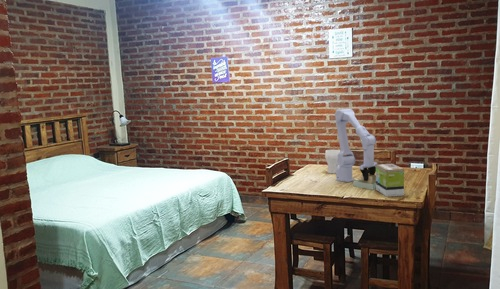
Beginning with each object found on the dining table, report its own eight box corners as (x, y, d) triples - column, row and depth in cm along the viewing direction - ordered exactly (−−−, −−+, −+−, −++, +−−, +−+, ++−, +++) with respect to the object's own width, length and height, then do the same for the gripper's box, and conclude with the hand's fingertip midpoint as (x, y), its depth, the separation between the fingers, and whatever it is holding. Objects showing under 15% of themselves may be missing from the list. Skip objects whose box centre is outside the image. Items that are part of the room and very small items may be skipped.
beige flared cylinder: (343, 171, 293) (343, 149, 291) (337, 174, 285) (337, 152, 283) (328, 170, 299) (328, 149, 297) (322, 173, 290) (322, 151, 288)
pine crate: (361, 182, 250) (361, 175, 249) (366, 181, 253) (366, 173, 253) (371, 184, 245) (371, 176, 244) (376, 183, 248) (376, 175, 247)
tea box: (375, 190, 239) (375, 164, 238) (392, 189, 240) (392, 163, 238) (386, 197, 225) (386, 169, 223) (404, 195, 225) (404, 168, 224)
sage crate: (353, 186, 251) (353, 181, 250) (364, 182, 258) (364, 178, 257) (372, 189, 241) (372, 184, 240) (384, 186, 248) (384, 181, 247)
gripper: (367, 159, 239) (367, 183, 241) (382, 155, 248) (382, 178, 250) (356, 157, 245) (356, 181, 246) (371, 154, 254) (371, 177, 256)
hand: (368, 179), depth 249 cm, fingers closed on pine crate, 5 cm apart
